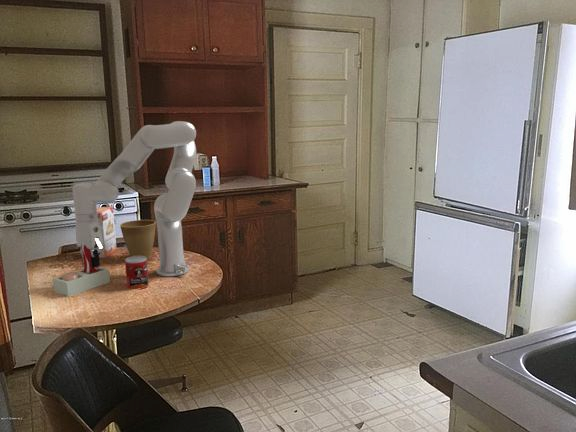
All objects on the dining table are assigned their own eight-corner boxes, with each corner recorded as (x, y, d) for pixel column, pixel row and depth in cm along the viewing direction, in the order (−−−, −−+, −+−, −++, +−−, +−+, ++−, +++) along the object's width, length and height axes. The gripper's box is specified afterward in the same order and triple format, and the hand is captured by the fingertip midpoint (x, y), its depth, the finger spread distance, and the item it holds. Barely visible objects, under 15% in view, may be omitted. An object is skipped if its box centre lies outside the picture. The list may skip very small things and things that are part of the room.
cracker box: (106, 258, 220) (102, 212, 216) (93, 259, 220) (88, 212, 216) (117, 250, 234) (113, 206, 230) (105, 250, 234) (100, 206, 230)
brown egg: (82, 289, 180) (80, 273, 179) (69, 294, 176) (67, 277, 175) (73, 287, 183) (72, 271, 182) (60, 291, 179) (58, 275, 178)
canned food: (129, 292, 179) (126, 262, 177) (125, 285, 186) (123, 257, 184) (151, 288, 183) (148, 259, 180) (146, 281, 190) (144, 254, 187)
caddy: (110, 284, 188) (108, 269, 187) (68, 298, 174) (66, 282, 173) (96, 280, 193) (94, 265, 192) (54, 293, 179) (52, 278, 178)
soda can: (93, 274, 183) (90, 243, 181) (81, 274, 184) (77, 242, 182) (101, 270, 188) (98, 239, 186) (89, 270, 189) (86, 239, 187)
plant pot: (165, 255, 224) (162, 220, 220) (143, 265, 210) (140, 228, 207) (138, 252, 230) (136, 218, 226) (115, 261, 216) (112, 225, 213)
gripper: (110, 218, 180) (114, 266, 184) (81, 213, 189) (86, 259, 193) (91, 222, 174) (96, 272, 178) (63, 216, 183) (68, 264, 187)
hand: (91, 264), depth 185 cm, fingers closed on soda can, 4 cm apart
